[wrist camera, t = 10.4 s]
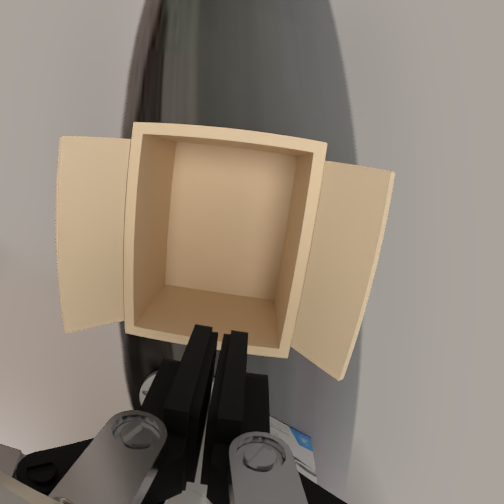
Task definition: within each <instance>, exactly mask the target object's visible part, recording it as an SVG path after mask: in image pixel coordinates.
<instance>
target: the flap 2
mask: <svg viewBox="0 0 504 504" xmlns="http://www.w3.org/2000/svg"><path fill="white" fill-rule="evenodd" d="M394 177H395V172H392V171H387V170H382V169H375V168H370V167H364V166H358V165H351V164H345V163H338V162H331V161H325V166H324V173H323V179H322V186H321V192H320V198H319V204H318V210H317V216H316V222H315V228H314V233H313V239H312V244H311V250H310V255H309V261H308V266H307V271H306V276H305V281H304V286H303V291H302V296H301V301H300V306H299V311H298V315H297V320H296V325H295V329H294V334H293V338H292V343H291V347H292V348H294V349H295V350H296V351H298V352H299V353H300V354H302V355H303V356H304V357H306V358H307V359H309V360H310V361H311V362H313V363H314V364H316V365H317V366H318V367H320V368H321V369H322V370H324V371H325V372H327V373H328V374H330V375H331V376H332V377H334V378H335V379H337V380H338V381H340V380H342V379H343V378H344V375H345V372H346V370H347V367H348V364H349V361H350V358H351V355H352V352H353V349H354V346H355V342H356V339H357V336H358V333H359V330H360V326H361V323H362V319H363V316H364V313H365V309H366V305H367V302H368V298H369V294H370V291H371V287H372V283H373V279H374V275H375V271H376V267H377V263H378V259H379V255H380V250H381V246H382V241H383V237H384V232H385V227H386V222H387V217H388V212H389V206H390V201H391V195H392V189H393V183H394Z"/></svg>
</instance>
